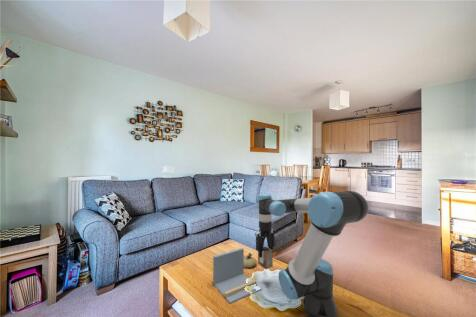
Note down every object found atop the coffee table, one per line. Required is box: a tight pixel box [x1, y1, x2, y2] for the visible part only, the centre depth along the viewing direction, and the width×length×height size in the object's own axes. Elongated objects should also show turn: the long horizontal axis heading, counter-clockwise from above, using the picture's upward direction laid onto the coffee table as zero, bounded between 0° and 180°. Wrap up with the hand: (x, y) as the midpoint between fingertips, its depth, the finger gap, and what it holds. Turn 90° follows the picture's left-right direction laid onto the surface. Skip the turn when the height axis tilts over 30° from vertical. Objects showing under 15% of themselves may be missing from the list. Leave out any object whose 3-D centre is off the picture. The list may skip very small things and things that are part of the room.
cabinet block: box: [257, 246, 274, 270], centre depth 114 cm, size 7×5×10 cm
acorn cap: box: [244, 252, 258, 269], centre depth 135 cm, size 10×11×10 cm
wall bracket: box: [212, 247, 257, 304], centre depth 111 cm, size 20×20×16 cm
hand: (265, 261), depth 114 cm, fingers closed on cabinet block, 5 cm apart
